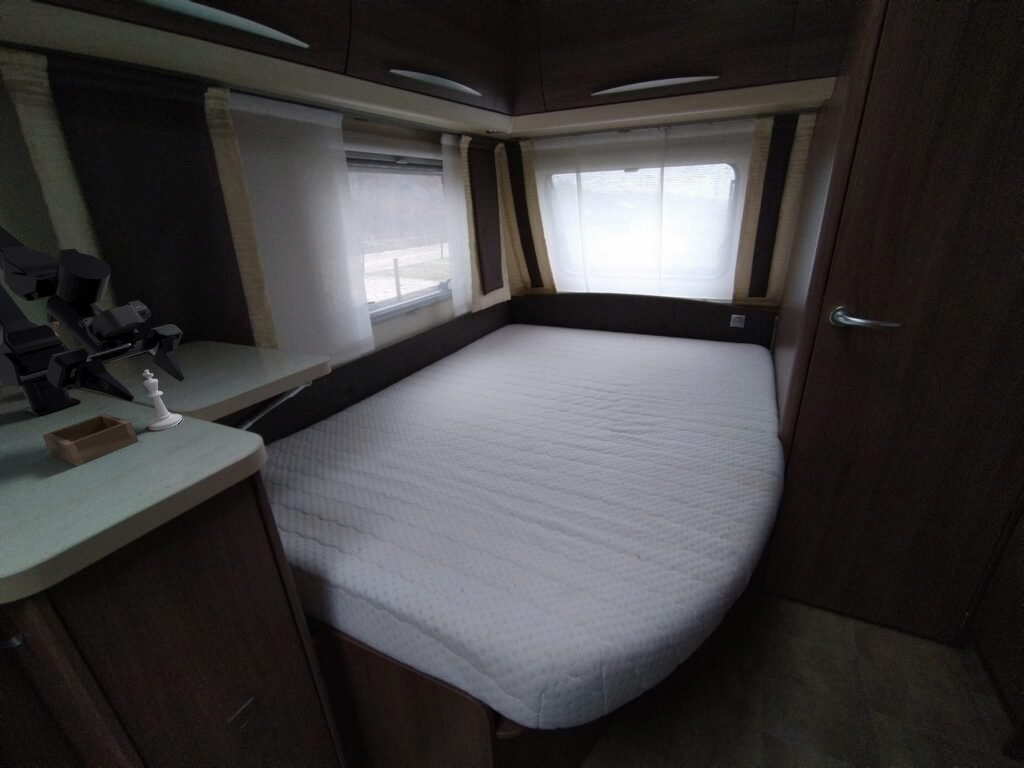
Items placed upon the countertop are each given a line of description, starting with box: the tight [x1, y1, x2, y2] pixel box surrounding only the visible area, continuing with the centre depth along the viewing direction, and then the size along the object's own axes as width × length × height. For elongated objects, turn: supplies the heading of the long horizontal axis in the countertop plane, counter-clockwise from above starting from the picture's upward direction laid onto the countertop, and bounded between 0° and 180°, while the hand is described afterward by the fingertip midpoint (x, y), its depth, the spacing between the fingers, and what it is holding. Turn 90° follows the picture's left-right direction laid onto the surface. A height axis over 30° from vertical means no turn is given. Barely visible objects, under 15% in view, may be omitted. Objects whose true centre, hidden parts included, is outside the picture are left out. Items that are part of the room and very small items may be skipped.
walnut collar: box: [42, 413, 139, 467], centre depth 70 cm, size 8×8×4 cm
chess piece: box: [141, 369, 183, 431], centre depth 76 cm, size 5×5×10 cm
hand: (158, 389), depth 75 cm, fingers open, 8 cm apart
